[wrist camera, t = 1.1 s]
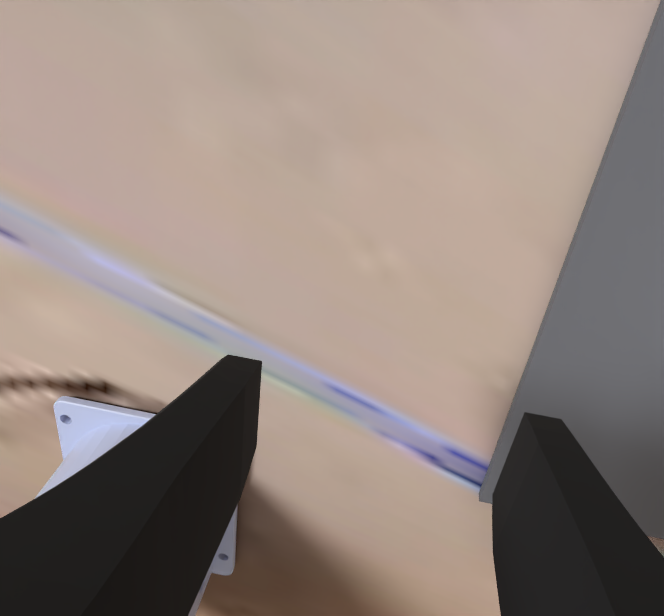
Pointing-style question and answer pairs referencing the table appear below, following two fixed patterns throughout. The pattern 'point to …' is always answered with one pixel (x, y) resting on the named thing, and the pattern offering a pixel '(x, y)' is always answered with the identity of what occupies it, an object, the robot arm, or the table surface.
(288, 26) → the table surface
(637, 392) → the mat
